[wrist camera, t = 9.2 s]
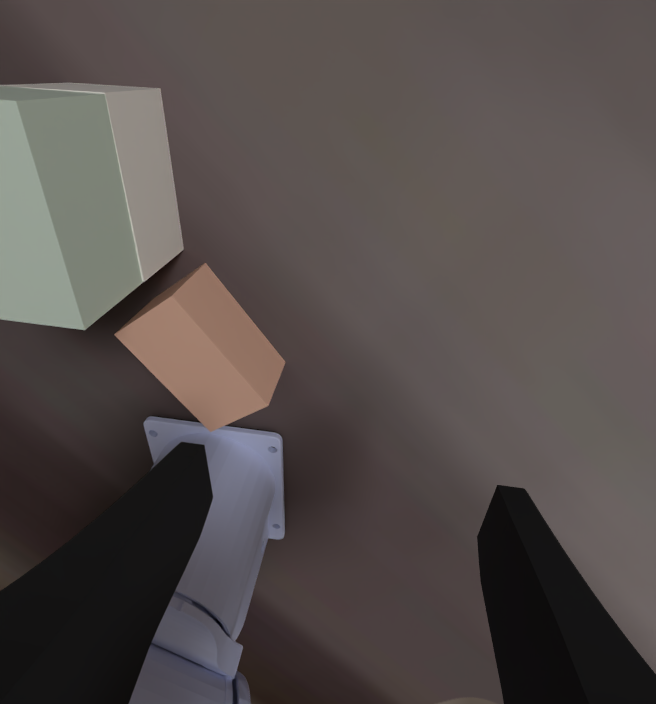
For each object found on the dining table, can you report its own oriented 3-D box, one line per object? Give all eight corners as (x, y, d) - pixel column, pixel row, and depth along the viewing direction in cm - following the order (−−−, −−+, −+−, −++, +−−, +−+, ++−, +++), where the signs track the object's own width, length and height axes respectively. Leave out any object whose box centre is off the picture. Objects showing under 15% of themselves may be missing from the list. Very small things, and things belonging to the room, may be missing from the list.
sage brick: (142, 282, 16) (84, 330, 13) (54, 272, 16) (-22, 316, 13) (104, 93, 13) (16, 101, 10) (-6, 85, 13) (-124, 89, 10)
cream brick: (183, 249, 19) (144, 281, 16) (108, 241, 19) (56, 272, 16) (160, 88, 15) (104, 92, 12) (70, 82, 16) (-6, 85, 13)
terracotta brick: (286, 360, 21) (268, 405, 18) (234, 386, 23) (210, 432, 20) (206, 261, 19) (171, 295, 16) (154, 297, 20) (114, 334, 18)
